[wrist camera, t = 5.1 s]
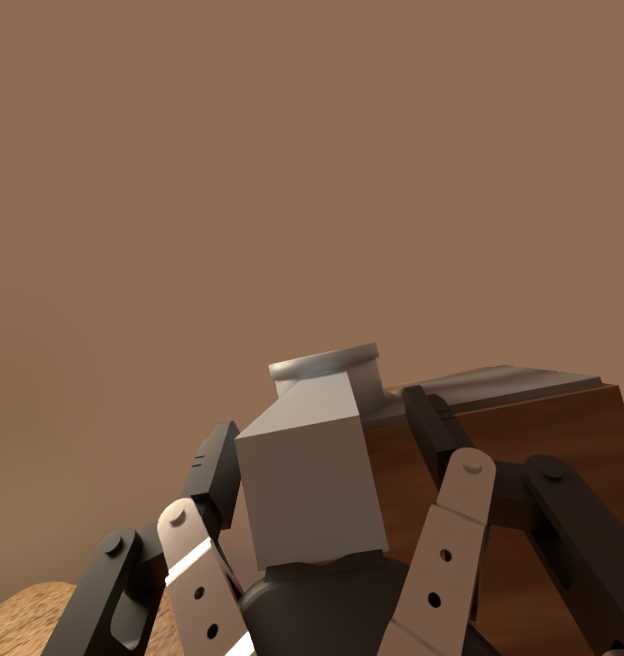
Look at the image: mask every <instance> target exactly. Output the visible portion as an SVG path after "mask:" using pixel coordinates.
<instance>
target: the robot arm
mask: <svg viewBox="0 0 624 656" xmlns="http://www.w3.org/2000/svg"><path fill="white" fill-rule="evenodd" d="M403 395H404V404H405V413H406V418H407V421H408V424H409V427H410V429H411V432H412V434H413V436H414V438H415V441H416V443H417V445H418V447H419V450H420V452H421V454H422V456H423V459H424V461H425V463H426V466H427V468H428V470H429V472H430V475H431V477H432V479H433V481H434V484H435V486H436V488H437V491H438V493H439V495H438V498H437V501H436V503H432V505H431V506H430V509H429V511H428V514H427V517H426V520H425V523H424V526H423V529H422V532H421V535H420V538H419V541H418V544H417V547H416V550H415V553H414V556H413V559H412V562H411V565H410V566H408V565H407V564H405V563H403V562H400V561H398V560H395V559H392V558H387V557H384V556H383V551H382V549H377V550H371V551H364V552H358V553H352V554H347V555H345V556H343V557H341V558H339V559H337V560H335V561H333V562H331V563H329V564H327V565H323V566H322V565H315V564H309V563H302V562H294V563H287V564H281V565H274V566H268V567H266V575H265V577H263V578H262V579H261V580H259V581H257V582H256V583H255V584H253V585H252V586H251V587H250V588H249V589H248V590H247V591H246V592H244V590H243V589H242V587H241V585H240V583H239V581H238V579H237V577H236V575H235V573H234V571H233V569H232V567H231V565H230V563H229V561H228V558H227V556H226V554H225V552H224V550H223V548H222V546H221V543H220V542H219V540H218V538H219V534H220V530H225V529H230V528H231V523H232V518H233V514H234V509H235V505H236V500H237V495H238V491H239V486H240V481H241V474H240V468H239V463H238V457H237V452H236V447H235V441H234V439H235V438H236V437H237V436H238V435H239V434H240V433H239V430H238V428H237V426H236V424H235V422H234V421H229V422H224V423H219V424H217V425H216V426H215V429H214V431H213V434H212V436H211V437H207V438H206V439H205V441H204V442H203V443H202V444H201V446H200V447H199V449H198V452H197V454H196V457H195V458H196V459H195V460H194V462H193V464H192V468H191V470H190V472H189V475H188V477H187V479H186V482H185V485H184V487H183V489H182V492H181V495H180V497H179V499H178V500H177V501H175V502H173V503H172V504H171V505H169V506H168V507H167V508H166V509H165V510H164V512H163V513H162V515H161V516H160V518H159V521H157V522H155V523H153V524H151V525H149V526H147V527H145V528H143V529H141V530H139V531H137V532H136V531H135V529H134V528H133V527H132V526H129V525H126V526H122V527H119V528H117V529H115V530H114V531H112V532H111V533H110V534H109V535H107V536H106V537H105V538H104V540H103V541H102V542H101V543H100V544H99V546H98V547H97V549H96V551H95V553H94V555H93V556H92V558H91V560H90V562H89V564H88V566H87V568H86V570H85V572H84V574H83V575H82V578H81V579H80V581H79V583H78V585H77V587H76V589H75V591H74V593H73V594H72V596H71V598H70V600H69V602H68V604H67V606H66V608H65V610H64V612H63V613H62V615H61V617H60V619H59V621H58V623H57V625H56V627H55V629H54V631H53V632H52V634H51V636H50V638H49V640H48V642H47V644H46V646H45V648H44V650H43V651H42V653H41V655H40V656H144V654H145V651H146V648H147V645H148V641H149V638H150V635H151V631H152V628H153V625H154V621H155V618H156V615H157V611H158V608H159V605H160V602H161V598H162V595H163V592H164V588H165V585H167V589H168V593H169V596H170V600H171V604H172V608H173V612H174V616H175V620H176V624H177V628H178V631H179V635H180V639H181V643H182V647H183V651H184V655H185V656H502V655H501V654H500V653H499V652H498V651H497V650H496V649H495V648H494V647H493V646H492V645H491V644H490V643H489V642H488V641H487V640H486V639H485V638H484V637H483V636H482V635H481V634H480V633H479V632H478V631H477V630H476V629H475V628H476V622H477V616H478V610H479V604H480V597H481V590H482V582H483V574H484V568H485V562H486V556H487V550H488V544H489V538H490V532H491V526H492V525H495V526H501V527H506V528H512V529H518V530H523V531H524V533H525V535H526V536H527V538H528V540H529V542H530V543H531V545H532V547H533V549H534V550H535V552H536V554H537V556H538V557H539V559H540V561H541V563H542V564H543V566H544V568H545V570H546V571H547V573H548V575H549V577H550V578H551V580H552V582H553V584H554V585H555V587H556V589H557V591H558V592H559V594H560V596H561V598H562V599H563V601H564V603H565V604H566V606H567V608H568V610H569V611H570V613H571V615H572V617H573V618H574V620H575V622H576V624H577V625H578V627H579V629H580V631H581V632H582V634H583V636H584V638H585V639H586V641H587V643H588V645H589V646H590V648H591V650H592V652H593V653H594V655H595V656H624V526H623V525H622V524H621V523H620V522H619V520H618V519H617V518H616V517H615V516H614V515H613V514H612V512H611V511H610V510H609V509H608V508H607V507H606V505H605V504H604V503H603V502H602V501H601V500H600V499H599V497H598V496H597V495H596V494H595V493H594V492H593V491H592V489H591V488H590V487H589V486H588V485H587V484H586V483H585V481H584V480H583V479H582V478H581V477H580V476H579V475H578V473H577V472H576V471H575V470H574V469H573V468H572V467H571V466H570V465H568V464H567V463H566V462H564V461H562V460H560V459H558V458H556V457H553V456H549V455H543V454H537V455H532V456H530V457H528V458H527V459H526V460H525V462H524V464H518V463H509V462H501V461H497V460H494V459H491V458H490V457H489V456H488V455H487V454H486V453H484V452H482V451H480V450H478V449H477V448H476V446H475V445H474V443H473V442H472V440H471V439H470V437H469V436H468V434H467V433H466V431H465V430H464V428H463V427H462V425H461V424H460V422H459V421H458V419H456V416H455V415H454V413H453V412H452V411H451V409H450V407H449V406H448V404H447V403H446V401H445V400H444V399H442V398H441V397H440V396H438V395H437V394H435V393H434V394H429V395H426V393H425V392H424V390H423V388H422V386H421V385H420V384H418V385H413V386H408V387H403ZM122 592H123V593H122ZM120 597H121V598H120ZM118 602H119V603H118ZM116 607H117V608H116ZM115 609H116V610H115ZM114 612H115V613H114ZM113 614H114V615H113ZM112 617H113V618H112Z"/></svg>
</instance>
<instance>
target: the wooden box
mask: <svg viewBox="0 0 624 656" xmlns="http://www.w3.org/2000/svg"><path fill="white" fill-rule="evenodd" d="M418 384H420V385H421V386H422V388H423V390H424V392H425V393H426V395H429V394H434V393H435V394H437V395H438V396H440V397H441V398H442V399H444V400H445V401H446V403H447V404H448V406H449V407H450V409H451V411H452V412H453V413H454V415H455V416H456V419H458V421H459V422H460V424H461V425H462V427H463V428H464V430H465V431H466V433H467V434H468V436H469V437H470V439H471V440H472V442H473V443H474V445H475V446H476V448H477V449H478V450H480V451H482V452H484V453H486V454H487V455H488V456H489V457H490V458H491V459H494V460H497V461H501V462H509V463H518V464H524V462H525V460H526V459H527V458H528V457H530V456H532V455H537V454H543V455H549V456H553V457H556V458H558V459H560V460H562V461H564V462H566V463H567V464H568V465H570V466H571V467H572V468H573V469H574V470H575V471H576V472H577V473H578V475H579V476H580V477H581V478H582V479H583V480H584V481H585V483H586V484H587V485H588V486H589V487H590V488H591V489H592V491H593V492H594V493H595V494H596V495H597V496H598V497H599V499H600V500H601V501H602V502H603V503H604V504H605V505H606V507H607V508H608V509H609V510H610V511H611V512H612V514H613V515H614V516H615V517H616V518H617V519H618V520H619V522H620V523H621V524H622V525H623V526H624V403H623V399H622V396H621V392H620V389H619V386H618V385H611V384H604V383H602V382H601V378H600V377H598V376H590V375H582V374H574V373H565V372H557V371H549V370H540V369H531V368H523V367H515V366H507V365H502V366H496V367H483V368H478V369H474V370H468V371H463V372H458V373H453V374H448V375H444V376H438V377H433V378H428V379H423V380H418V381H414V382H408V383H403V384H398V385H393V386H388V387H383V392H384V396H385V401H386V402H385V404H384V405H383V406H382V407H381V408H379V409H377V410H375V411H373V412H371V413H369V414H366V415H363V416H360V420H361V425H362V429H363V434H364V438H365V443H366V447H367V452H368V457H369V461H370V466H371V470H372V475H373V479H374V484H375V488H376V493H377V497H378V502H379V507H380V511H381V516H382V520H383V525H384V529H385V534H386V538H387V543H388V547H389V551H386V552H383V556H384V557H387V558H392V559H395V560H398V561H400V562H403V563H405V564H407V565H408V566H410V565H411V562H412V559H413V556H414V553H415V550H416V547H417V544H418V541H419V538H420V535H421V532H422V529H423V526H424V523H425V520H426V517H427V514H428V511H429V509H430V506H431V505H432V503H436V501H437V498H438V495H439V493H438V491H437V488H436V486H435V484H434V481H433V479H432V477H431V475H430V472H429V470H428V468H427V466H426V463H425V461H424V459H423V456H422V454H421V452H420V450H419V447H418V445H417V443H416V441H415V438H414V436H413V434H412V432H411V429H410V427H409V424H408V421H407V418H406V413H405V404H404V395H403V387H408V386H413V385H418ZM335 560H337V559H334V560H328V561H321V562H315V563H309V564H315V565H322V566H323V565H327V564H329V563H331V562H333V561H335ZM475 629H476V630H477V631H478V632H479V633H480V634H481V635H482V636H483V637H484V638H485V639H486V640H487V641H488V642H489V643H490V644H491V645H492V646H493V647H494V648H495V649H496V650H497V651H498V652H499V653H500V654H501V655H502V656H595V655H594V653H593V652H592V650H591V648H590V646H589V645H588V643H587V641H586V639H585V638H584V636H583V634H582V632H581V631H580V629H579V627H578V625H577V624H576V622H575V620H574V618H573V617H572V615H571V613H570V611H569V610H568V608H567V606H566V604H565V603H564V601H563V599H562V598H561V596H560V594H559V592H558V591H557V589H556V587H555V585H554V584H553V582H552V580H551V578H550V577H549V575H548V573H547V571H546V570H545V568H544V566H543V564H542V563H541V561H540V559H539V557H538V556H537V554H536V552H535V550H534V549H533V547H532V545H531V543H530V542H529V540H528V538H527V536H526V535H525V533H524V531H523V530H518V529H512V528H506V527H501V526H495V525H492V526H491V532H490V538H489V544H488V550H487V556H486V562H485V568H484V574H483V582H482V590H481V597H480V604H479V610H478V616H477V622H476V628H475Z"/></svg>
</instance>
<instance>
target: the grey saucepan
mask: <svg viewBox="0 0 624 656" xmlns="http://www.w3.org/2000/svg"><path fill="white" fill-rule="evenodd" d="M378 357H379V354H378V349H377V345H376V343H370V344H364V345H360V346H354V347H349V348H345V349H340V350H334V351H330V352H325V353H320V354H315V355H311V356H306V357H302V358H297V359H293V360H288V361H284V362H279V363H275V364H271V365H269V369H270V375H271V379H272V380H274V379H275V382H276V387H277V391H278V397H279V399H278V400H277V401H276V402H275V403H274V404H273V405H272V406H271V407H269V408H268V409H267V410H266V411H265V412H264V413H263V414H262V415H261V416H259V417H258V418H257V419H256V420H255V421H254V422H253V423H252V424H251V425H249V426H248V427H247V428H246V429H245V430H244V431H243V432H242V433H240V434H239V435H238V436H237V437H236V438H235V439H234V441H235V447H236V452H237V457H238V463H239V468H240V474H241V479H242V484H243V490H244V495H245V500H246V506H247V511H248V517H249V522H250V527H251V533H252V538H253V544H254V549H255V554H256V560H257V565H258V570H259V571H263V570H266V567H268V566H274V565H281V564H287V563H294V562H302V563H315V562H321V561H328V560H334V559H339V558H341V557H343V556H345V555H347V554H352V553H358V552H364V551H371V550H377V549H382V551H383V552H386V551H389V547H388V543H387V538H386V534H385V529H384V525H383V520H382V516H381V511H380V507H379V502H378V497H377V493H376V488H375V484H374V479H373V475H372V470H371V466H370V461H369V457H368V452H367V447H366V443H365V438H364V434H363V429H362V425H361V420H360V416H363V415H366V414H369V413H371V412H373V411H375V410H377V409H379V408H381V407H382V406H383V405H384V404H385V402H386V401H385V396H384V392H383V387H382V383H381V379H380V375H379V370H378V365H377V361H376V358H378Z"/></svg>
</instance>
